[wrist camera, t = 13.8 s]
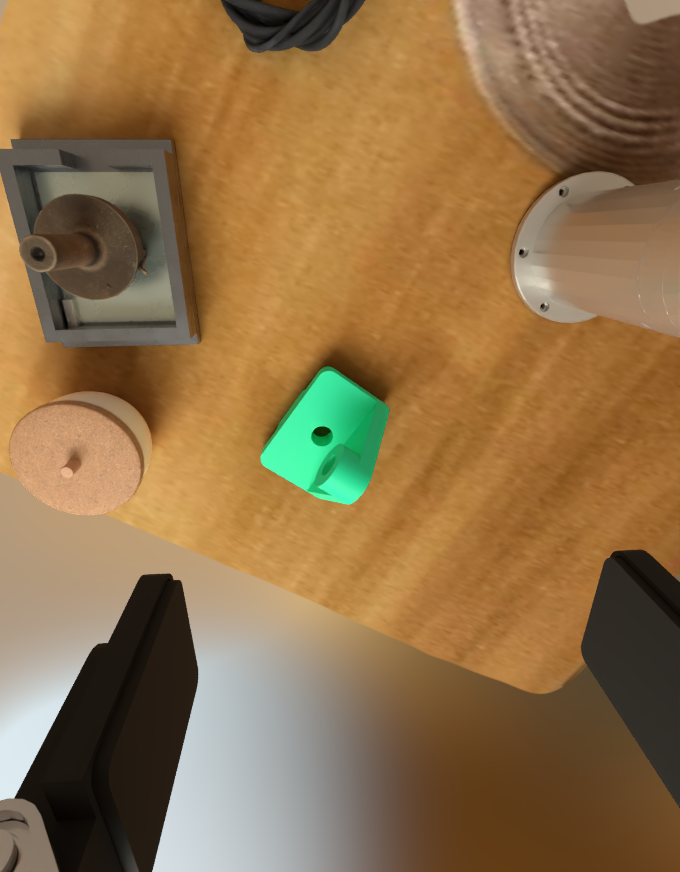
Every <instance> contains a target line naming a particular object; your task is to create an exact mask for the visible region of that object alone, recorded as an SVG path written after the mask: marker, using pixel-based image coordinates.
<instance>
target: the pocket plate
mask: <svg viewBox="0 0 680 872" xmlns="http://www.w3.org/2000/svg"><path fill="white" fill-rule="evenodd" d="M11 143H12V147H13V149H0V173H1V176H2V180H3V184H4V187H5V191H6V195H7V199H8V202H9V206H10V210H11V214H12V217H13V221H14V225H15V228H16V232H17V236H18V240H19V243H21V242H22V240H23V239H24V238H25V236H28V235H31V234H34V226H35V222H36V219H37V217H38V215H39V213H40V211H41V210H42V209H43V207H44V206H45V205H46V204H47V203H49V202H50V201H51V200H53V199H54V198H57V197H59V196H62V195H66V194H83V195H90V196H95V197H99V198H102V199H104V200H107V201H108V202H110V203H112V204H113V205H115V206H116V207H118V208H119V209H120V210H121V211H123V212H124V213H125V214H126V215H127V217H128V218H129V219H130V220H131V221H132V223H133V224H134V226H135V228H136V229H137V231H138V234H139V236H140V238H141V242H142V246H143V247H144V248H145V249H146V257H147V262H145V269H146V270H147V271H148V275H145V274H143V273H142V272H141V271H140V270H138V269H137V272H136V274H135V277H134V279H133V281H132V283H131V284H130V285H129V287H128V288H127V289H126V290H124V291H123V292H122V293H121V294H119V295H118V296H115V297H112V298H109V299H105V300H89V299H84V298H80V297H78V296H75V295H73V294H71V293H69V292H67V291H65V290H64V289H62V288H61V287H60V286H59V285H57V284H56V283H55V282H54V281H53V280H52V279H51V278H50V277H49V275H48V274H47V273H46V272H38V271H35V270H33V269H31V268H30V267H28V266H27V265H26V264H25V266H26V269H27V273H28V277H29V281H30V284H31V288H32V292H33V295H34V299H35V303H36V307H37V310H38V314H39V318H40V322H41V325H42V329H43V333H44V336H45V340H46V342H62V344H63V347H104V346H147V345H191V344H199V343H200V342H201V338H200V330H199V323H198V315H197V308H196V300H195V292H194V285H193V277H192V270H191V262H190V255H189V247H188V239H187V232H186V224H185V217H184V209H183V201H182V194H181V186H180V179H179V171H178V163H177V156H176V148H175V142H173V141H172V140H146V139H11Z"/></svg>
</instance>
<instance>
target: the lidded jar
mask: <svg viewBox="0 0 680 872" xmlns="http://www.w3.org/2000/svg"><path fill="white" fill-rule="evenodd" d="M9 454H10V459H11V463H12V466H13V469H14V471H15V473H16V475H17V477H18V478H19V480H20V481H21V483H22V484H23V485H24V487H25V488H27V490H28V491H29V492H30V493H31V494H32V495H34V496H35V497H37V498H38V499H39V500H40V501H42V502H44V503H45V504H47V505H49V506H51V507H53V508H56V509H58V510H60V511H64V512H67V513H72V514H77V515H98V514H103V513H107V512H110V511H113V510H115V509H117V508H119V507H121V506H122V505H124V504H125V503H126V502H127V501H129V499H130V498H131V497H132V496H133V495H134V494H135V492H136V490H137V489H138V487H139V485H140V483H141V481H142V479H143V477H144V475H145V473H146V471H147V469H148V466H149V463H150V460H151V454H152V439H151V434H150V430H149V428H148V425H147V423H146V421H145V420H144V418H143V417H142V415H141V414H140V413H139V412H138V411H137V410H136V409H135V408H134V407H133V406H132V405H130V404H129V403H128V402H126V401H125V400H123V399H121V398H119V397H117V396H114V395H111V394H108V393H103V392H95V391H81V392H76V393H71V394H67V395H64V396H61V397H59V398H56V399H54V400H52V401H50V402H48V403H46V404H44V405H42V406H39V407H37V408H36V409H34V410H33V411H31V412H29V413H28V414H26V415H25V416H24V417H23V418H22V419H21V420H20V421H19V422H18V424H17V425H16V426H15V428H14V430H13V433H12V435H11V439H10V444H9Z"/></svg>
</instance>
